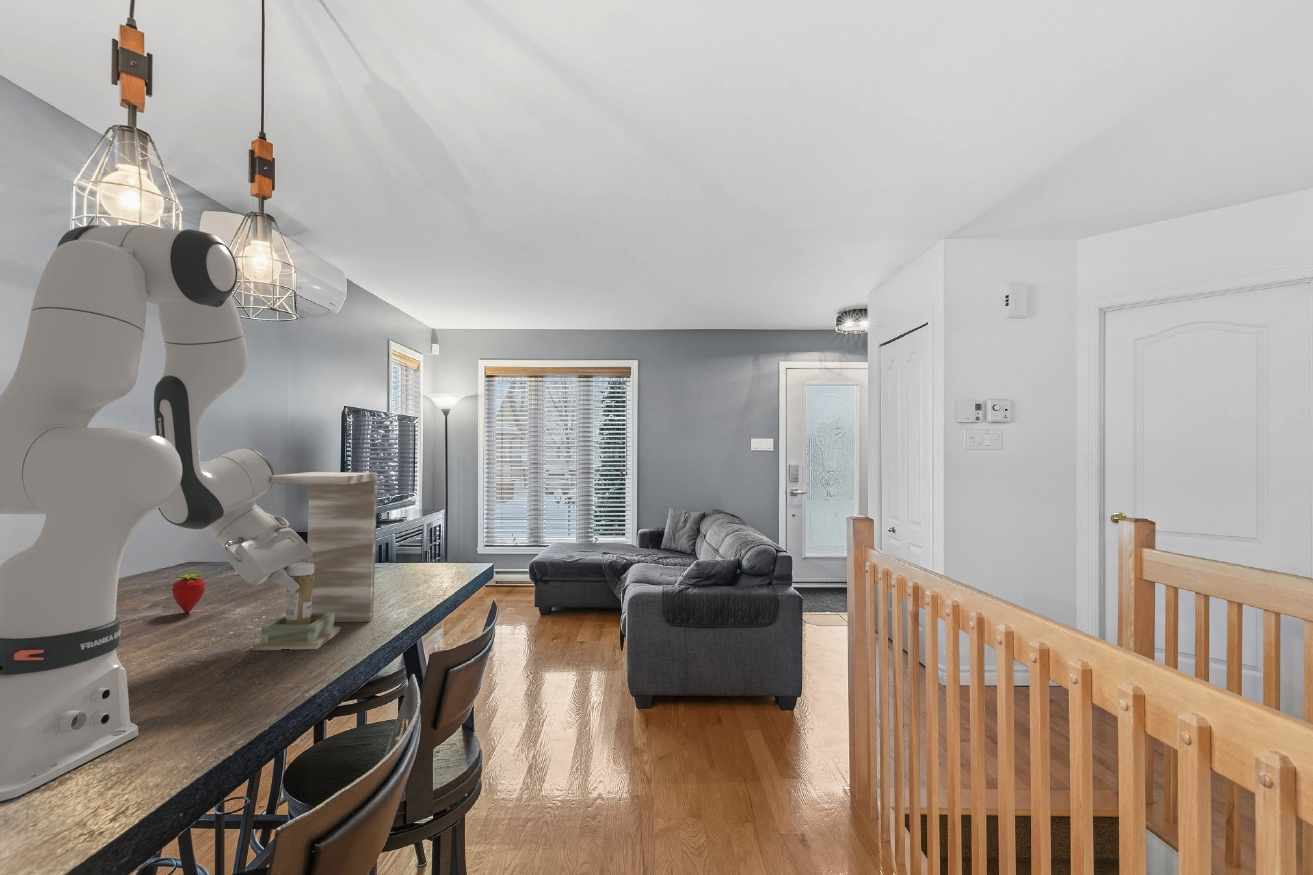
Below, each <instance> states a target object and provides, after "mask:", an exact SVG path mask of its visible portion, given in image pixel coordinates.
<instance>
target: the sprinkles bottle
mask: <svg viewBox="0 0 1313 875" xmlns="http://www.w3.org/2000/svg"><path fill="white" fill-rule="evenodd" d="M313 573H314V564H313V563H307V562H305V563H294V564H291V565H289V566H287V573H286V574H287V575H288V576H290V577H291V578H293V579H294V580H295V579H297V580H298V581H299V582H300V583H301V584H302V586H301V588H299V589H298V590H297V591H296V592H294V593H291V592H290V591H289V590H288V589H286V595H285V596H286V598H285V613H286V616H285V618H286V624H311V615H312V583H313Z"/></svg>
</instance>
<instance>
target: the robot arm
mask: <svg viewBox="0 0 1313 875" xmlns="http://www.w3.org/2000/svg"><path fill="white" fill-rule="evenodd" d="M237 266H238V265H237V262H236V258H235V256H234V254H233V252H232V251H231V249H230V248H229V247H228V246H227V244H226V243H224V242H223V241H222V239H221V238H219V237H218V236H216V235H214V234H212V233H208V232H205V231H202V230H197V229H196V230H195V229H189V228H188V229H177V228H176V229H175V228H167V227H157V226H149V225H145V224H119V225H118V224H117V225H106V226H105V225H104V226H103V225H100V224H92V225H83V226H79V227H75V228H72V229H71V230H69V231H67V232H66V233H64V235H63V236H62V237H61V238H60V240H59V242H58V244H57V245H56V248H55V250H54V251H52V254H51V255H50V258H49V260H48V261H47V263H46V265H45V267H44V269H43V271H42V274H41V277H40V279H39V281H38V283H37V284H38V285H37V287H36V290H35V293H34V297H33V301H32V305H31V309H30V315H29V319H28V323H27V329H26V333H25V337H24V341H23V345H22V349H21V353H20V356H19V361H18V363H17V367H16V369H15V371H14V374H12V375H13V376H12V378H11V379H10V381H9V383H8V384H7V386H6V388H5V389H4V391H3V392H2V393H1V395H0V515H45V520H44V524H43V527H42V529H41V532H40V533H39V535H38V537H37V539H36V540H35V542H34V543H33V544H31V546H30V547H28V548H25V549H23V550H21V551H20V552H17V553H15V554H14V555H12V556H10V557H8V559H5V561H4V562H3V563H1V565H0V802H4V801H6V800H10V799H13V798H17V797H19V796H22V795H23V794H26V793H28V792H30V791H32V790H34V789H36V788H38V787H40V786H42V785H45V783H48V782H51V781H52V780H53V779H55V778H57V777H59V776H62V775H64V774H65V773H67V772H69V771H71V770H74V769H75V768H77V767H79V766H81V765H83V764H85V763H87V762H89V761H91V760H93V759H94V758H97V757H98V756H101V755H102V754H105V753H107V752H108V751H111V750H112V749H114V748H116V747H118V746H120V745H122V744H124V743H126V742H129V740H132V739H134V738H136V737H138V736H139V726H138V725H137V724H135V723H133V722H131V716H130V705H129V704H130V703H129V690H128V688H129V687H128V680H127V679H128V678H127V671H126V669H125V667H124V666H123V665H122V663H121V662H120V660H119V658H118V657H119V656H118V654H117V648H118V647H119V646H120V644H121V643H120V642H121V641H120V636H121V634H122V628H121V622H120V621H121V620H120V617H118V616H117V614H116V613H117V601H118V600H117V597H118V589H119V588H118V586H119V585H118V584H119V577H120V569H121V568H120V567H121V562H122V559H123V555H124V552H125V549H126V547H127V545H128V543H129V541H130V540H131V537H132V536H133V535H134V532H136V530H137V528H139V526H140V525H141V524H142V522H144V520H145V519H146V518H147V517H148V516H149V515H151V514H152V513H153V512H155V511H157V510H159V512H160V515H162V517H163V518H164V519H165V521H167V522H169V523H170V524H172V525H175V526H178V527H180V528H183V529H189V530H203V529H208V530H209V531H210V532H211V533H212V535H213V536H214V539H215V540H216V541H217V542H218V543H220V545H222V547H224V552H225V553H226V554H227V560H228V562H229V564H230V565H231V566H232V568H233V569H234V570H235V571H236V572H237V573H238V574H239V576H241V577H242V579H243V580H245V582H247V583H248V584H250V585H252V586H258V585H259V584H263V583H265V582H267V581H268V580H271V581H272V582H274V583H275V584H277V585H279V586H281V587H283V588H285V589H286V590H287V589H288V590H289V591H290V592H291V593H294V592H296V591H297V590H298V589H299V588H301V586H302V584H301V583H300V582H299V581H298V580H297V579H295V580H294V579H293V578H291V577H290V576H288V575H287V566H289V565H291V564H294V563H307V560H308V559H309V558H310V557H311V556H312V555H313V553H312V550H311V548H310V547H309V546H308V545H307V544H308V543H307V542H306V541H305V540H304V539H303V538H302V537H301V536H300V535H299V534H298V533H297V532H296V531H295V530H294V529H292V528H290V527H289V526H290V523H289V521H288V520H287V519H286V518H284V517H282V516H276V515H273V514H270V513H268V512H266V511H265V510H263V509H262V508H261V507H260V506H259V505H257V504H256V500H257V499H258V498H259V497H261V496H263V495H264V494H266V493H267V492H268V491H269V490H270V489H271V488H272V487H273V485H274V484H271V476H273V475H275V471H274V467H273V465H272V464H271V461H269V459H267V457H266V456H265V455H263V454H262V453H260V452H259V451H257V450H255V449H252V448H249V447H241V448H238V449H233V450H231V451H228V452H226V453H224V454H221V455H219V456H217V457H214V458H213V459H210V460H208V461H205V460H203V461H201V452H200V439H199V438H200V435H199V425H200V421H201V419H202V416H203V415H204V413H205V412H206V410H207V409H208V408H209V407H210V406H211V405H212V404H213V403H214V402H215V401H216V400H217V399H218V398H219V397H220V396H221V395H223V394H224V393H225V392H227V391H228V390H229V389H230V388H232V387H234V386H235V385H236V384H237V383H238V382H239V381H240V380H241V378H242V377H243V375H244V374H245V372H246V370H247V368H248V358H249V356H248V355H249V354H248V348H247V347H248V346H247V342H246V337H245V333H244V329H243V325H242V321H241V317H240V314H239V312H238V311H239V310H238V308H237V305H236V303H235V299H234V297H233V295H232V293H233V292H234V290H235V288H236V285H237V281H238V267H237ZM147 303H150V304H156V305H158V307H157V308H158V316H159V323H160V328H161V333H162V338H163V343H164V348H165V363H164V368H163V373H162V376H161V378H160V380H159V381H158V382H157V383H156V385H155V387H154V391H153V393H154V394H153V412H154V413H153V414H154V415H153V416H154V428H155V429H154V430H155V434H153V433H148V432H142V431H138V430H133V429H127V428H121V427H88V426H89V424H90V422H91V421H92V419H93V418H94V417H95V416H96V414H97V413H98V412H100V411H101V410H102V409H103V408H104V407H106V406H108V405H109V404H111V403H113V402H115V401H118V400H119V399H122V398H123V397H125V396H127V394H129V393H130V392H131V391H132V390H133V388H134V387H135V385H136V382H137V379H138V378H137V376H138V373H139V372H138V371H139V365H140V361H141V360H140V359H141V353H142V346H143V341H144V340H143V339H144V336H145V335H144V333H145V328H146V320H147ZM314 579H315V578H314V577H313V581H314Z"/></svg>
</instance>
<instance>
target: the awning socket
mask: <svg viewBox="0 0 1313 875" xmlns="http://www.w3.org/2000/svg"><path fill="white" fill-rule="evenodd" d="M271 484H273V485H308V489H309V490H308V512H307V513H308V515H307V516H308V517H307V543H306V544H307V545H308V546H309V547H310V548H311V550H312V553H313V555H312V556H311V557H310V558H309V559H308V560H307V561H306V563H313V564H314V573H313V577H314V578H315V579H314V581H313V583H312V615H311V624H286V618H285V616H286V612H285V613H283V614H281V615H279V616H277V617H276V618H274V619H272V620H270V621H269V622H267V623H265V624H264V625H262V626H261V629H260V630H261V632H260V633H261V634H260V640H259V641H257V642H255V643H254V644H253V645H252V651H280V650H281V649H290V650H318V649H319V648H321V647H322V646H323V645H325V644H326V643H327V642H328V641H330V640H331V639H332V638H333V637H335V636H336V635H338V634H339V633H340V632H341V626H338V625H337V626H336V625H335V623H346V622H347V623H350V622H351V623H354V622H355V623H359V622H360V623H361V622H366V623H367V622H371V621H373V619H374V604H375V600H374V599H375V574H376V573H375V571H376V570H375V569H376V567H375V566H376V564H375V563H376V533H377V530H376V529H377V528H376V527H377V501H378V500H377V498H378V497H377V496H378V495H377V494H378V472H356V471H355V472H353V471H352V472H351V471H350V472H349V471H347V472H346V471H345V472H344V471H343V472H337V471H334V472H333V471H310V472H309V471H308V472H298V473H297V472H296V473H288V474H287V473H285V474H276V475H275V474H274V475H273V476H271Z"/></svg>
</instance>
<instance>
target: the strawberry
mask: <svg viewBox="0 0 1313 875" xmlns="http://www.w3.org/2000/svg"><path fill="white" fill-rule="evenodd" d="M194 567H195V566H193V567H192V568H191V569H190V570H189V571H188V573H186V574H185V575H177V576H176V577H175V579H178V580H175V582H174V583H173V584H172V588H171V592H172V596H173V599H174V600H175V602H176V604H177V605H178V606H179V607H180V609H182V611H183V613H186V614H188V613H191V611H192V610H193V609H194V607H195V606H197V604H198V603H199V601H200V600H201V599H202V597H203V596H204V593H205V590H206V587H207V586H206V581H204V579H202V578H200V577H206V575H207V574H196V573H194V574H193V573H192V574H190V572H192V570H193V569H194Z"/></svg>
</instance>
